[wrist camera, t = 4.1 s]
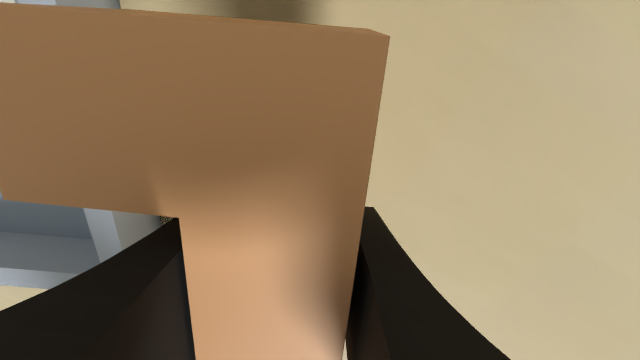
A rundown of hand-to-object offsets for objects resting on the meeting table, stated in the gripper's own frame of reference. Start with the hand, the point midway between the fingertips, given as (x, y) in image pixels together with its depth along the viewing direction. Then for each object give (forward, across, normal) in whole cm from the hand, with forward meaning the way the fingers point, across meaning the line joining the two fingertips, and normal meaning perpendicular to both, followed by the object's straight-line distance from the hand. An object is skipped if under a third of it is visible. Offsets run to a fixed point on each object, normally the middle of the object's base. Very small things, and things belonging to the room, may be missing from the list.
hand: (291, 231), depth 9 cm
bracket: (+2, +1, 0) cm, 2 cm away
